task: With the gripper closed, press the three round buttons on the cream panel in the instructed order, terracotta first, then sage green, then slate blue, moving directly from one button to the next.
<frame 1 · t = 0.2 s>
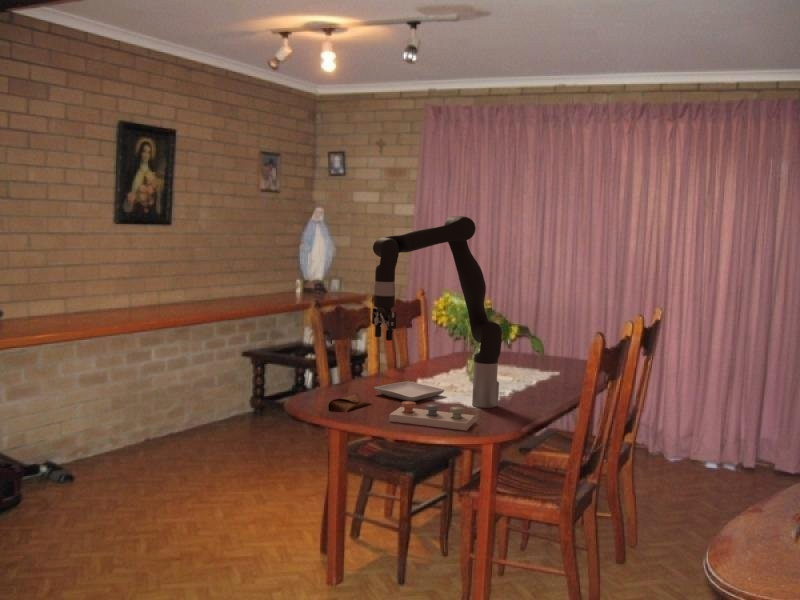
hand: (383, 338, 283), 28 cm above the table, fingers open, 8 cm apart
sage button: (457, 413, 275), point 4 cm above the table, slide at 0.0 cm
sunglasses case: (350, 408, 297), on the table
salad plate: (409, 396, 319), on the table
slate button: (432, 410, 278), point 4 cm above the table, slide at 0.0 cm
terracotta button: (408, 408, 281), point 4 cm above the table, slide at 0.0 cm
button panel: (432, 421, 279), on the table
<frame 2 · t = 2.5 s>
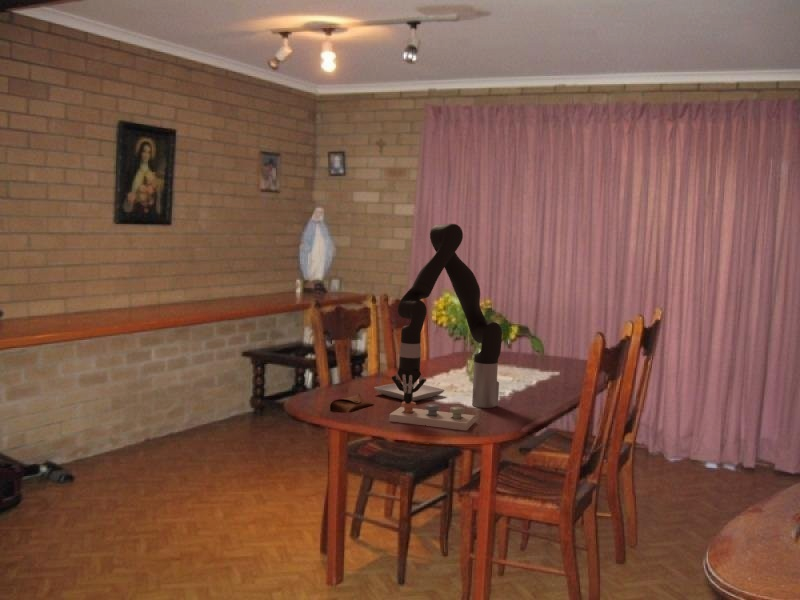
hand: (407, 402, 281), 6 cm above the table, fingers closed
terracotta button: (408, 408, 281), point 4 cm above the table, slide at 0.0 cm, touching gripper
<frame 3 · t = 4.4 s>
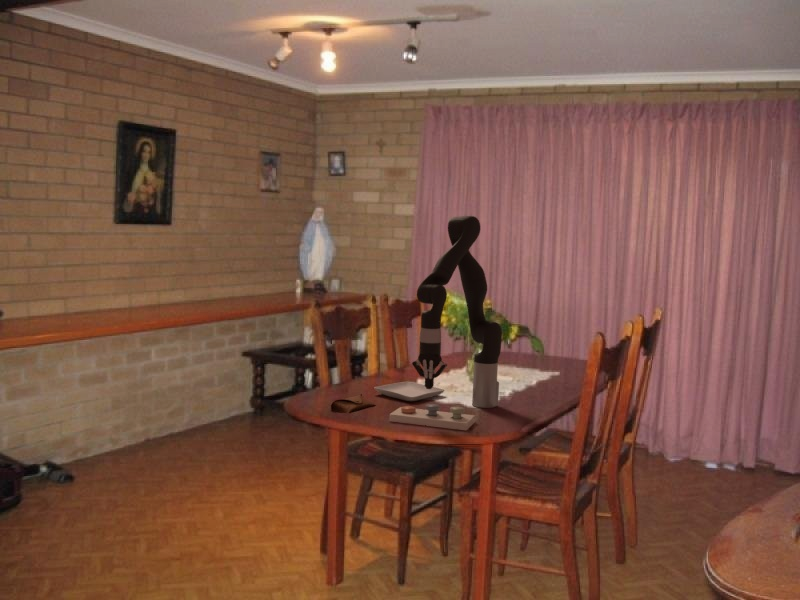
hand: (428, 388, 279), 12 cm above the table, fingers closed
terracotta button: (408, 413, 281), point 2 cm above the table, slide at 1.8 cm
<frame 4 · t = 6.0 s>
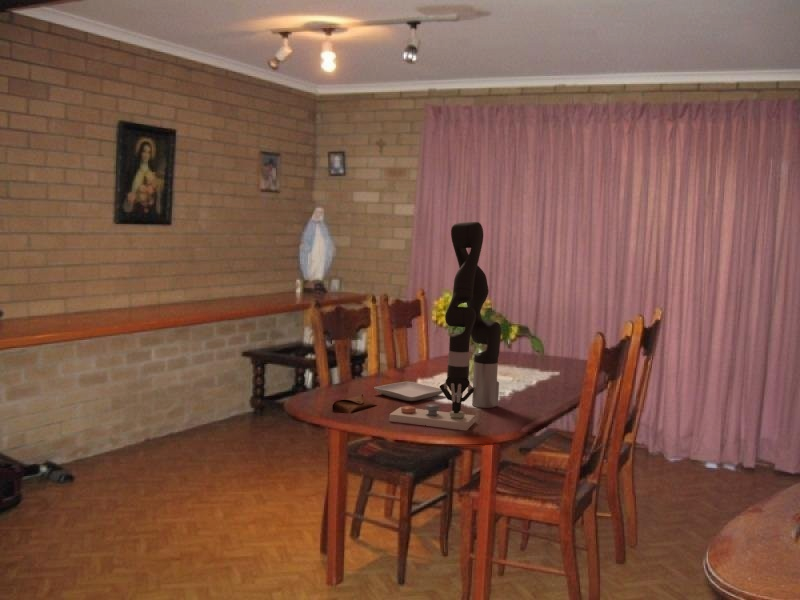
hand: (456, 412, 275), 4 cm above the table, fingers closed
sage button: (457, 417, 276), point 2 cm above the table, slide at 1.4 cm, touching gripper
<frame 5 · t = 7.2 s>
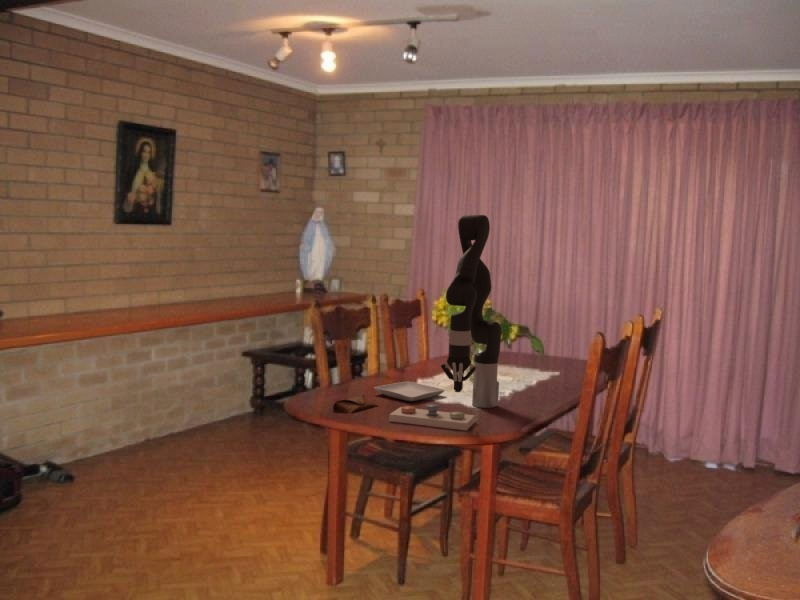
hand: (457, 391, 275), 12 cm above the table, fingers closed
sage button: (456, 418, 276), point 2 cm above the table, slide at 1.8 cm
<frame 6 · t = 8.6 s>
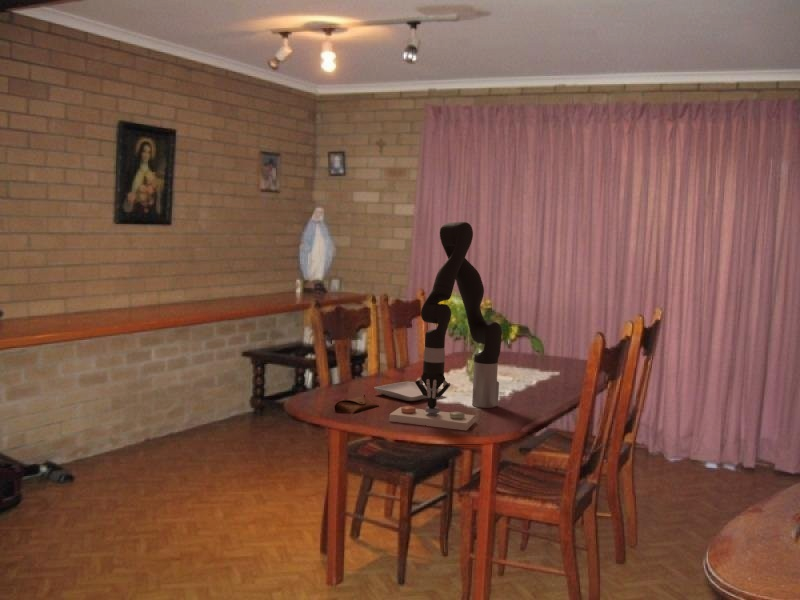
hand: (431, 408, 278), 5 cm above the table, fingers closed
slate button: (432, 413, 278), point 3 cm above the table, slide at 0.8 cm, touching gripper
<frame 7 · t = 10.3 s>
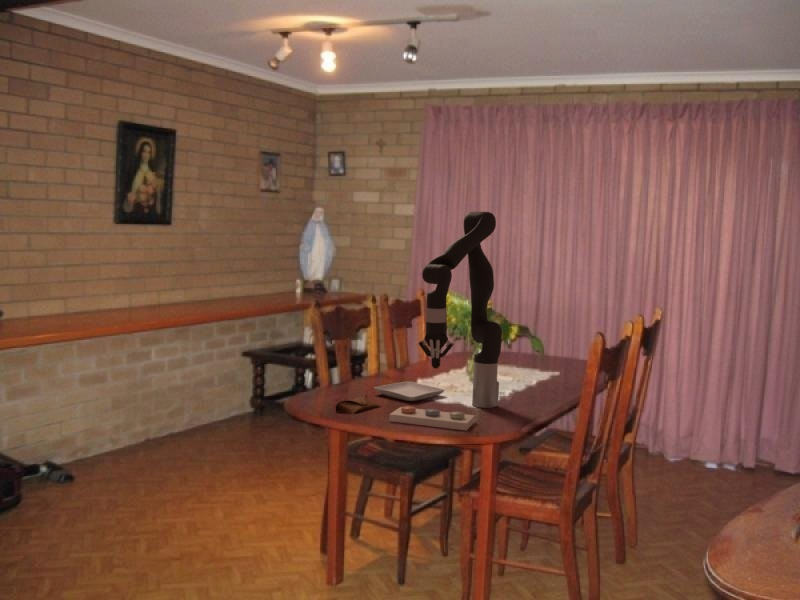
hand: (435, 368, 282), 18 cm above the table, fingers closed
slate button: (432, 415, 279), point 2 cm above the table, slide at 1.8 cm
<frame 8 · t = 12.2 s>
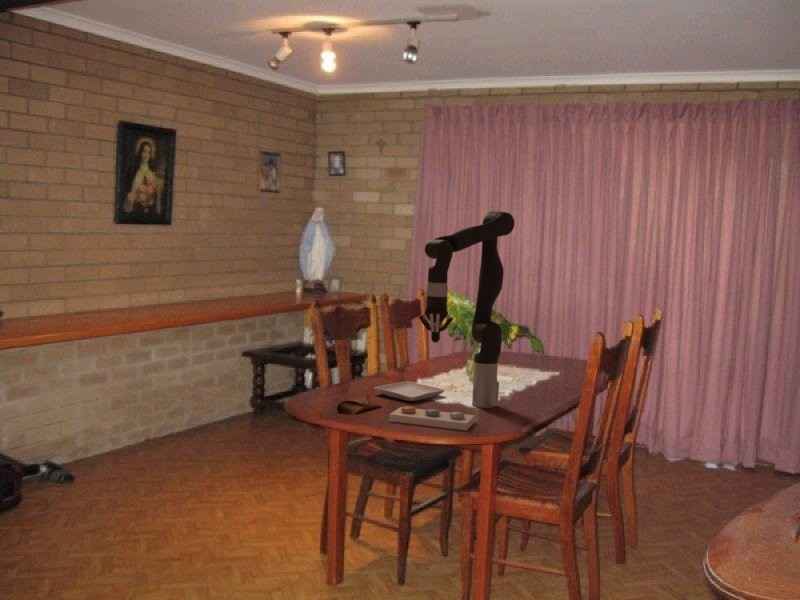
hand: (435, 342, 286), 27 cm above the table, fingers closed
at the end: terracotta button slide at 1.8 cm; sage button slide at 1.8 cm; slate button slide at 1.8 cm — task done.
